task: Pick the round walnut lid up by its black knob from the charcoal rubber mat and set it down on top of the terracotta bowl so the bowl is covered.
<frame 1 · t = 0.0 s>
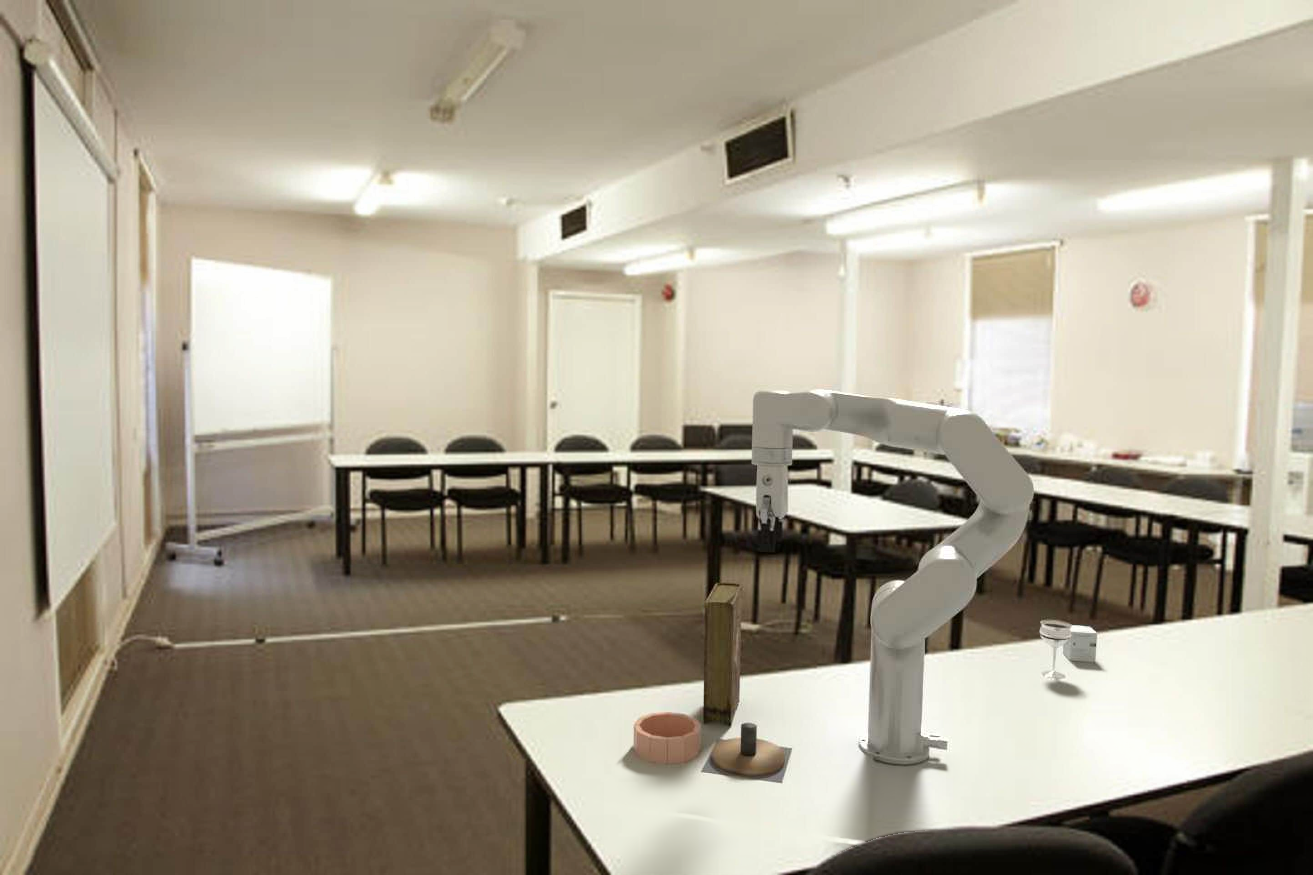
hand: (769, 546, 168), 37 cm above the table, tool pointing down, fingers open, 9 cm apart
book: (722, 713, 181), on the table
bowl: (667, 751, 163), on the table
lid: (748, 759, 159), point 1 cm above the table, touching mat
mat: (748, 762, 159), on the table
wineglass: (1053, 675, 206), on the table
skincare box: (1078, 658, 218), on the table
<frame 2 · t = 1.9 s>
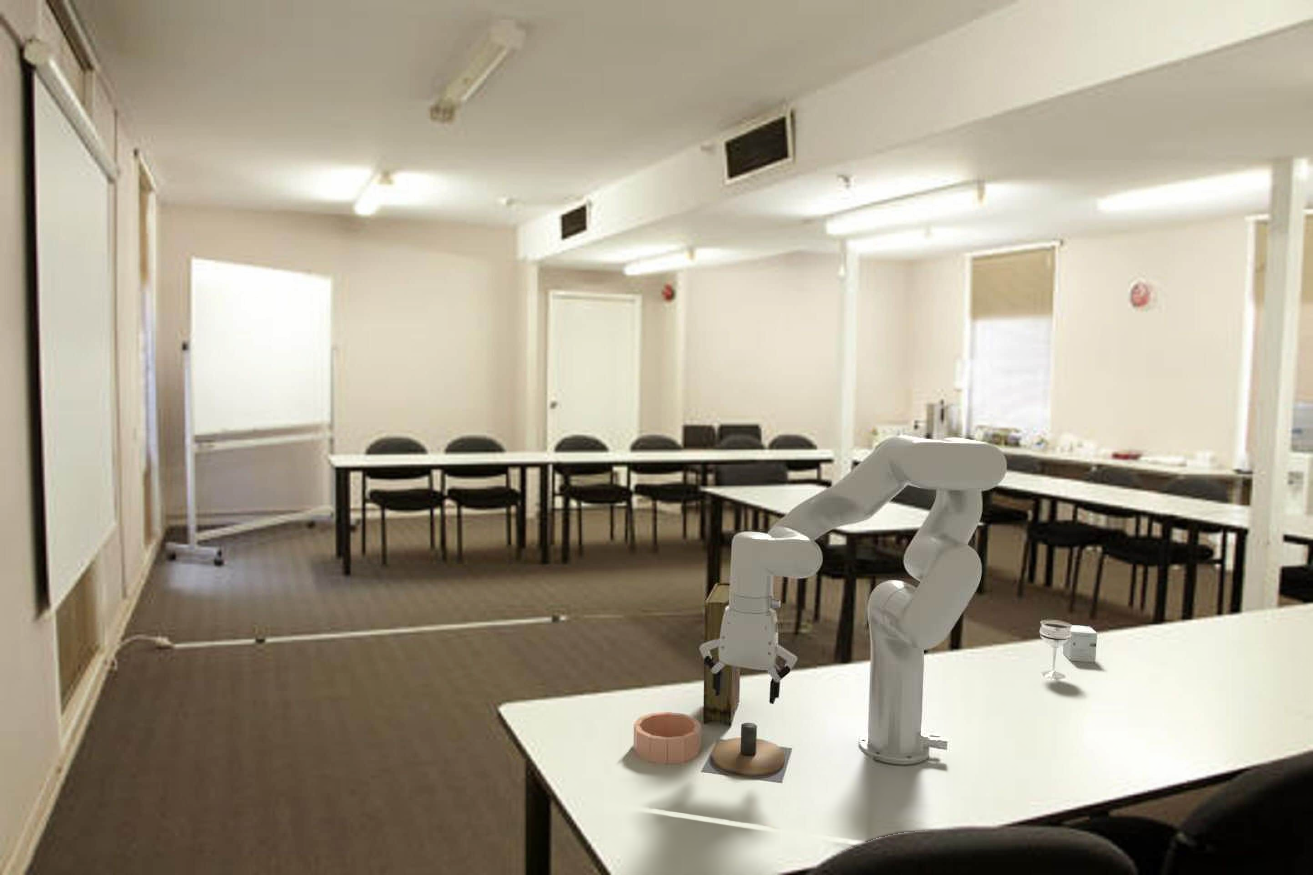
hand: (745, 697, 158), 12 cm above the table, tool pointing down, fingers open, 9 cm apart
nothing on the table moved.
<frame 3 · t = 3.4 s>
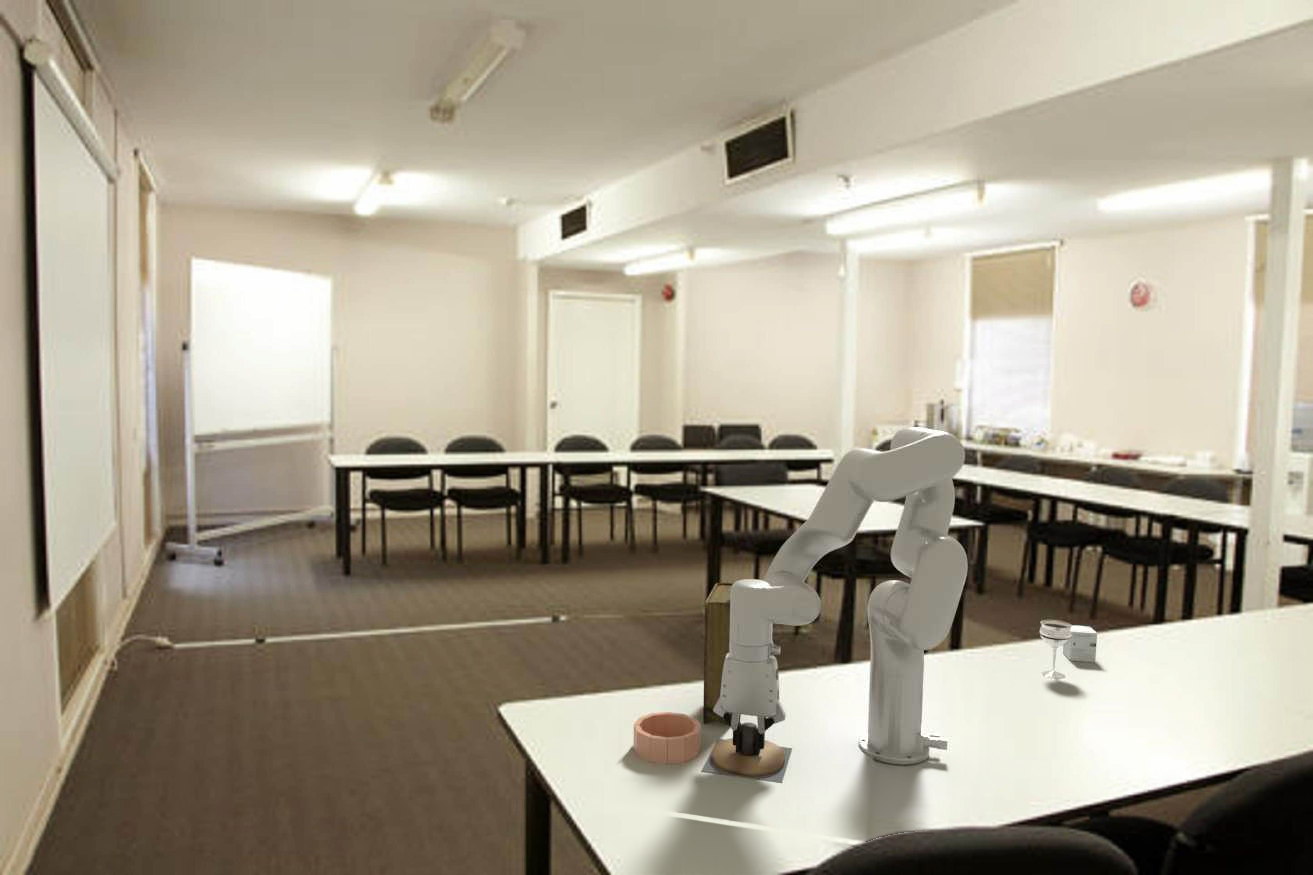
hand: (748, 749, 159), 2 cm above the table, tool pointing down, fingers closed on lid, 2 cm apart
lid: (748, 759, 159), point 1 cm above the table, touching gripper, mat
everything else where it was.
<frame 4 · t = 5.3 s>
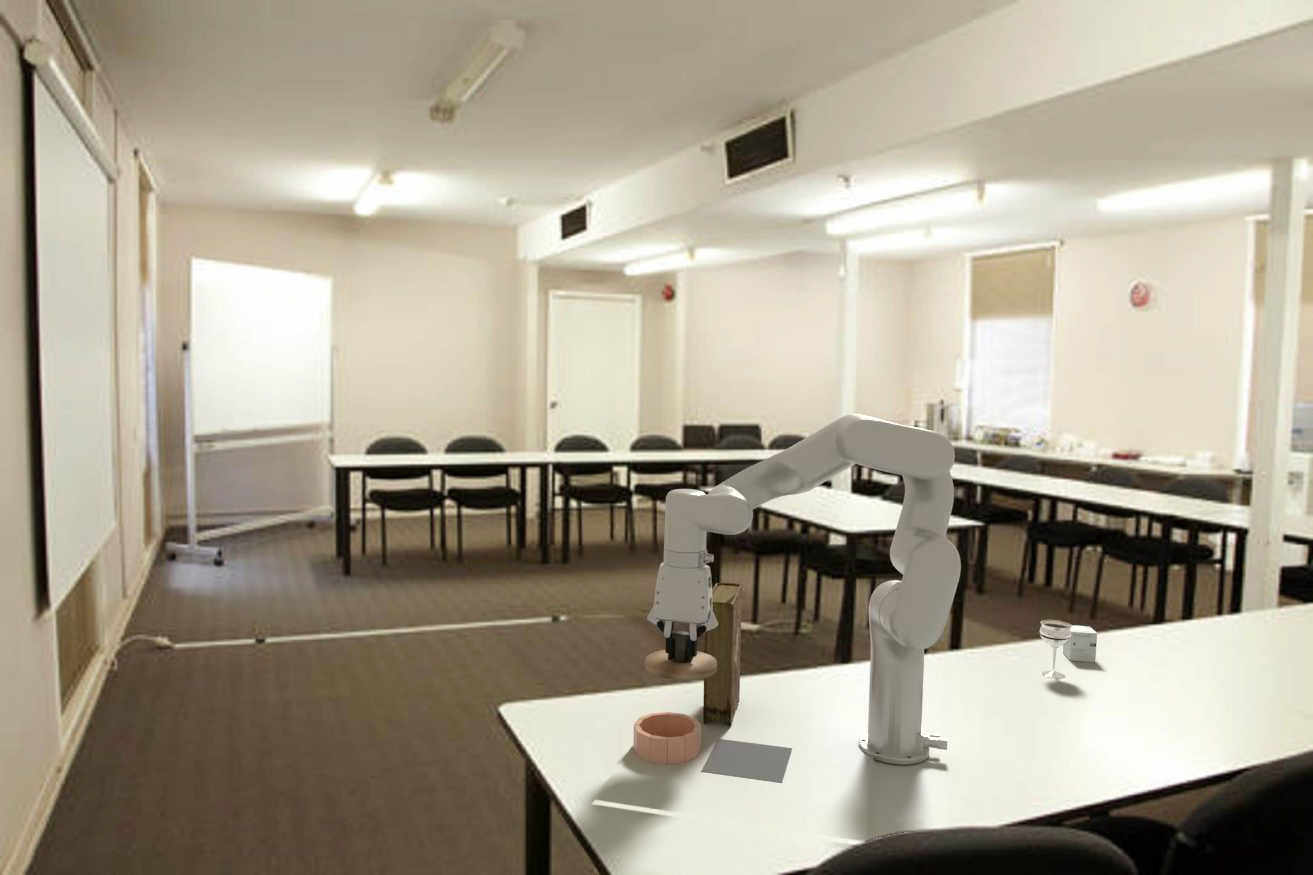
hand: (681, 657, 160), 18 cm above the table, tool pointing down, fingers closed on lid, 2 cm apart
lid: (680, 667, 160), point 16 cm above the table, touching gripper
everything else where it was.
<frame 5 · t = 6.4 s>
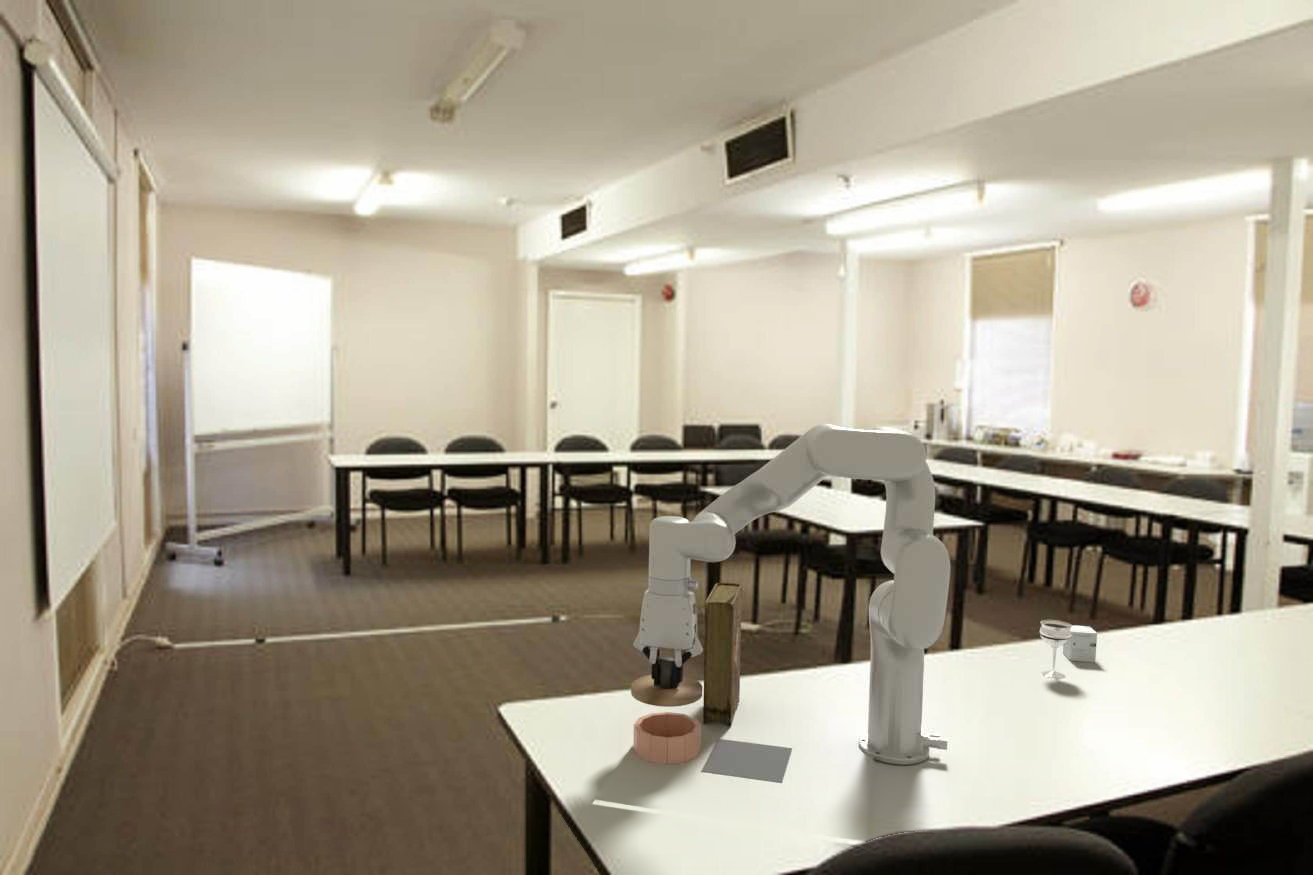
hand: (666, 683, 162), 13 cm above the table, tool pointing down, fingers closed on lid, 2 cm apart
lid: (666, 692, 162), point 11 cm above the table, touching gripper
everything else where it was.
when the fingers open (8 cm above the table, at t = 7.4 s): lid drops 2 cm, resting on bowl.
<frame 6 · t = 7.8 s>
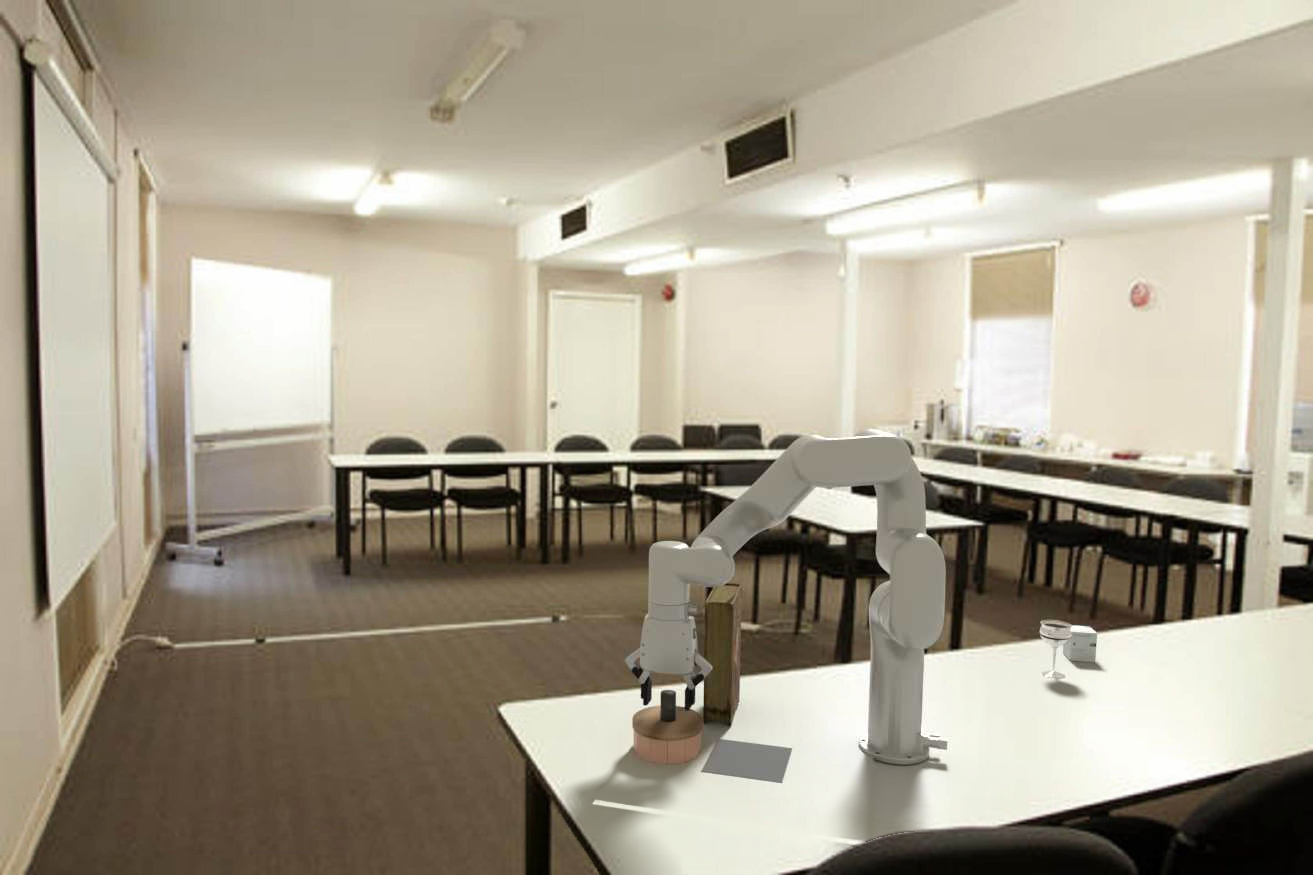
hand: (667, 704, 162), 9 cm above the table, tool pointing down, fingers open, 7 cm apart
lid: (667, 725, 162), point 5 cm above the table, touching bowl
everything else where it was.
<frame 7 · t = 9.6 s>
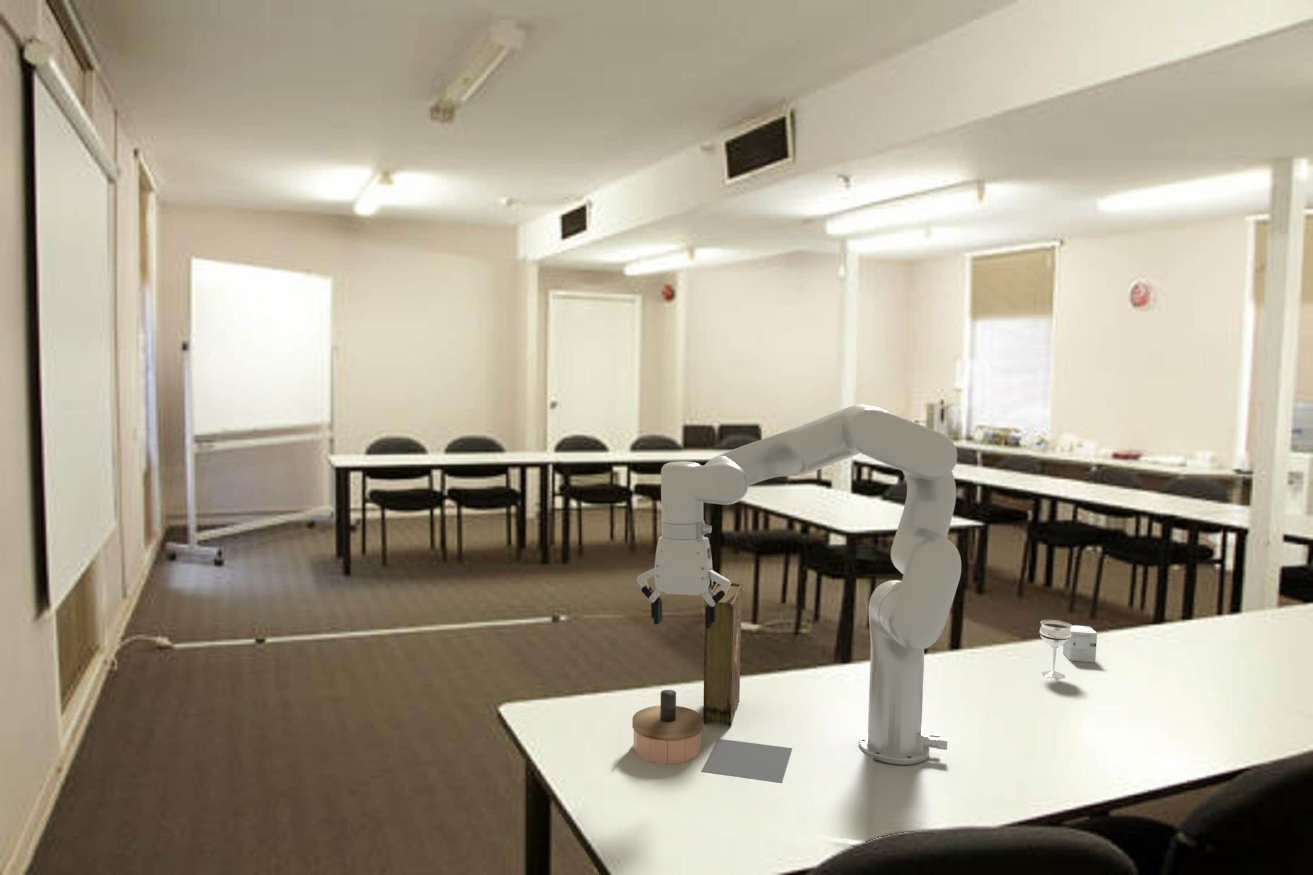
hand: (683, 624, 160), 24 cm above the table, tool pointing down, fingers open, 9 cm apart
nothing on the table moved.
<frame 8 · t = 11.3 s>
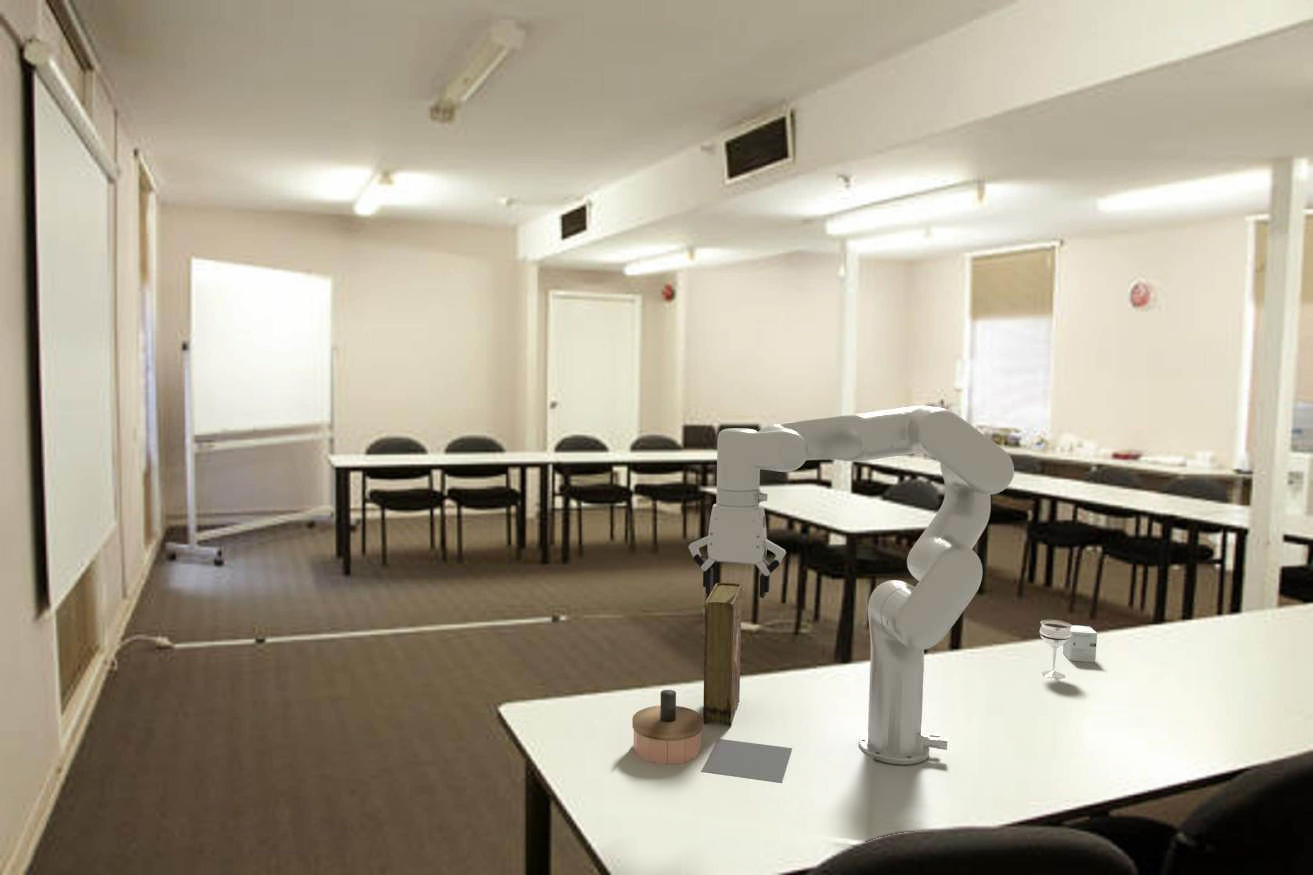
hand: (735, 593, 158), 30 cm above the table, tool pointing down, fingers open, 9 cm apart
nothing on the table moved.
at the end: lid 0.1 cm off-centre on the bowl, point 5.0 cm above the bowl's base; lid tilted 0°; the gripper is holding nothing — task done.
